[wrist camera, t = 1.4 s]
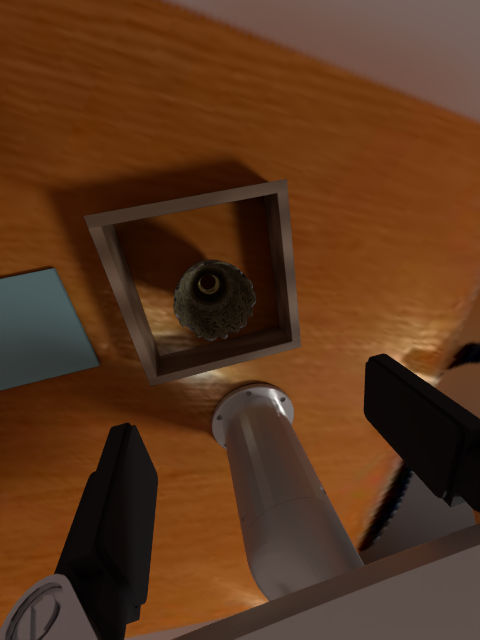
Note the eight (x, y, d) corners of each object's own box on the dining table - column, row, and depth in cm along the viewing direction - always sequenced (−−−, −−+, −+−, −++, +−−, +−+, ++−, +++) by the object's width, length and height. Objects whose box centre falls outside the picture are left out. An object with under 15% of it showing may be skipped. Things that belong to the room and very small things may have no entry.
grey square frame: (287, 331, 35) (301, 346, 31) (154, 365, 33) (150, 386, 29) (271, 184, 28) (286, 178, 24) (99, 215, 26) (83, 216, 22)
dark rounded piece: (161, 282, 29) (154, 305, 22) (207, 235, 28) (215, 243, 21) (208, 323, 32) (215, 355, 25) (251, 282, 31) (271, 302, 24)
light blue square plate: (100, 364, 32) (99, 365, 31) (-6, 390, 30) (-8, 392, 30) (54, 267, 27) (53, 268, 26) (-74, 293, 25) (-78, 294, 25)
